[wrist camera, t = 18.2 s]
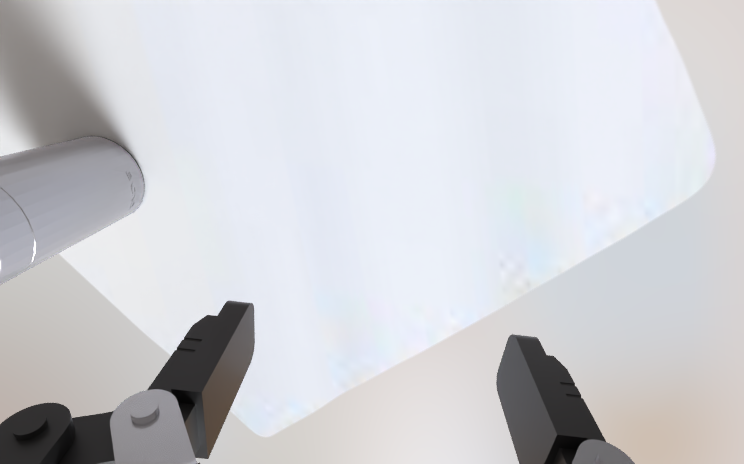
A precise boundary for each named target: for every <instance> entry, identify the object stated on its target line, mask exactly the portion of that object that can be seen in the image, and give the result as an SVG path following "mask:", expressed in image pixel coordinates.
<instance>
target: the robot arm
mask: <svg viewBox="0 0 744 464" xmlns="http://www.w3.org/2000/svg"><path fill="white" fill-rule="evenodd" d="M143 197H144V180H143V176H142V174H141V171H140V168H139V167H138V165H137V163H136V162H135V160H134V159H133V158H132V157H131V155H130V154H129V153H128V152H127V151H126V150H124V149H123V148H122V147H121V146H119V145H118V144H116V143H114V142H113V141H110V140H108V139H105V138H101V137H96V136H90V137H83V138H78V139H74V140H70V141H66V142H61V143H57V144H52V145H48V146H43V147H39V148H35V149H31V150H26V151H22V152H18V153H13V154H9V155H5V156H1V157H0V285H1V284H3V283H5V282H6V281H8V280H10V279H12V278H14V277H16V276H18V275H19V274H21V273H23V272H25V271H26V270H28V269H30V268H32V267H34V266H36V265H37V264H39V263H41V262H43V261H45V260H47V259H48V258H50V257H52V256H54V255H56V254H58V253H60V252H61V251H63V250H65V249H67V248H69V247H71V246H72V245H74V244H76V243H78V242H80V241H82V240H84V239H85V238H87V237H89V236H91V235H93V234H95V233H96V232H98V231H100V230H102V229H104V228H106V227H108V226H109V225H111V224H113V223H115V222H117V221H118V220H120V219H122V218H124V217H126V216H128V215H129V214H131V213H133V212H134V211H135V210H136V209H137V208H138V207H139V206H140V204H141V202H142V200H143ZM254 343H255V339H254V306H253V304H252V303H244V302H236V301H227V302H226V303H225V305H224V306H223V308H222V310H221V311H220V313H219V314H218V316H211V315H207V316H205V317H204V318H203V319H201V320H200V321H198V322H197V323H195V324H194V325H193V326H192V327H191V329H190V330H189V332H188V333H187V334H186V336H185V337H184V340H182V342H181V343H180V344H179V346H178V347H177V350H175V351H174V353H173V354H172V356H171V357H170V359H169V360H168V362H167V363H166V364H165V366H164V367H163V368H162V370H161V371H160V373H159V374H158V376H157V377H156V378H155V380H154V381H153V383H152V384H151V386H150V387H149V388H148V390H146V391H142V392H139V393H137V394H134V395H132V396H130V397H129V398H127V399H126V400H124V401H123V402H122V403H121V404H120V405H119V406H118V407H117V408H116V409H115V410H114V411H112V412H108V413H103V414H96V415H89V416H83V417H76V418H72V417H71V414H70V411H69V409H68V408H67V407H65V406H64V405H61V404H57V403H44V404H38V405H34V406H31V407H28V408H26V409H23V410H21V411H19V412H17V413H15V414H14V415H12V416H10V417H9V418H8V419H6V420H5V421H4V422H2V423H1V424H0V464H197V461H196V459H195V458H205V459H208V458H209V455H210V453H211V451H212V449H213V447H214V444H215V442H216V440H217V438H218V435H219V433H220V431H221V428H222V426H223V424H224V422H225V419H226V417H227V415H228V412H229V410H230V408H231V406H232V404H233V401H234V399H235V397H236V394H237V392H238V390H239V388H240V385H241V383H242V381H243V379H244V376H245V374H246V372H247V370H248V367H249V365H250V363H251V360H252V356H253V352H254ZM497 391H498V395H499V398H500V402H501V405H502V408H503V411H504V415H505V418H506V421H507V424H508V428H509V431H510V434H511V437H512V441H513V444H514V447H515V450H516V454H517V457H518V460H519V464H635V463H634V462H633V461H632V460H631V459H630V457H628V456H627V455H626V454H625V453H624V452H622V451H621V450H620V449H618V448H617V447H615V446H613V445H611V444H609V443H607V442H606V441H605V439H604V437H603V436H602V433H601V432H600V430H599V428H598V426H597V424H596V422H595V420H594V418H593V416H592V415H591V413H590V411H589V409H588V407H587V405H586V404H585V402H584V400H583V399H582V398H581V394H580V392H579V391H578V389H577V387H576V386H575V383H574V382H573V379H572V378H571V376H570V374H569V372H568V370H567V369H566V368H565V367H564V366H563V365H562V364H561V363H560V362H559V361H558V360H557V359H556V358H555V357H554V356H548V355H546V353H545V351H544V349H543V347H542V346H541V343H540V341H539V340H538V338H536V337H529V336H520V335H511V336H510V337H509V338H508V341H507V344H506V347H505V350H504V354H503V356H502V360H501V363H500V366H499V369H498V373H497ZM198 464H200V463H198Z"/></svg>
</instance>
